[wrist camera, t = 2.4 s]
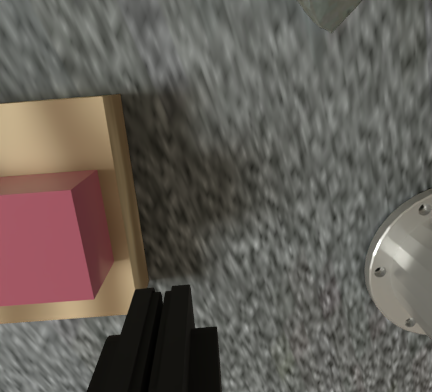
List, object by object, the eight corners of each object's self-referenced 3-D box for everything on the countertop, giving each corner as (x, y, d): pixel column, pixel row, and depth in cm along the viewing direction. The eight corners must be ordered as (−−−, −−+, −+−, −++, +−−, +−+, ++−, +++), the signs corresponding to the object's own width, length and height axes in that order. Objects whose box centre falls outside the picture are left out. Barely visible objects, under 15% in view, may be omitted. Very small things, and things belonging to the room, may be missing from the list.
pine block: (120, 93, 22) (102, 96, 19) (149, 280, 27) (139, 313, 23) (-124, 112, 22) (-192, 118, 19) (-55, 296, 27) (-99, 331, 23)
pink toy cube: (97, 169, 20) (70, 190, 16) (114, 261, 22) (94, 299, 18) (-7, 177, 20) (-57, 199, 16) (19, 268, 22) (-21, 307, 18)
